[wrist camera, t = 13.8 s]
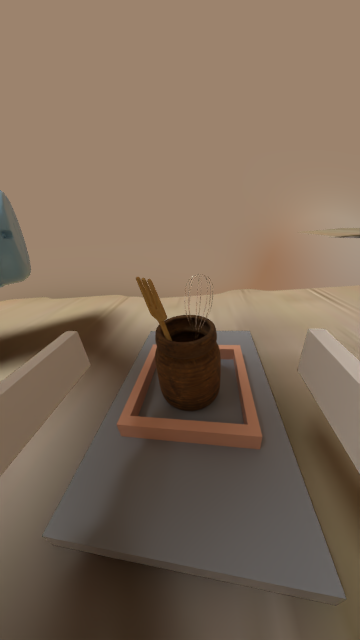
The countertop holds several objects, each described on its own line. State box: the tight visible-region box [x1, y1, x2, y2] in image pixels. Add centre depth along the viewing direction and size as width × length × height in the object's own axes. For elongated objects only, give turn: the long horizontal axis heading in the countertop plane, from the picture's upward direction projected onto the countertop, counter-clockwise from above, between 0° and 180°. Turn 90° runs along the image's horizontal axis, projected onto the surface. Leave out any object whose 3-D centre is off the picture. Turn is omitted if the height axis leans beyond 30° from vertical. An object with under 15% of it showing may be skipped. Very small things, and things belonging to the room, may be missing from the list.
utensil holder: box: [136, 274, 221, 411], centre depth 16 cm, size 6×6×12 cm
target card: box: [42, 331, 346, 605], centre depth 19 cm, size 15×22×3 cm
